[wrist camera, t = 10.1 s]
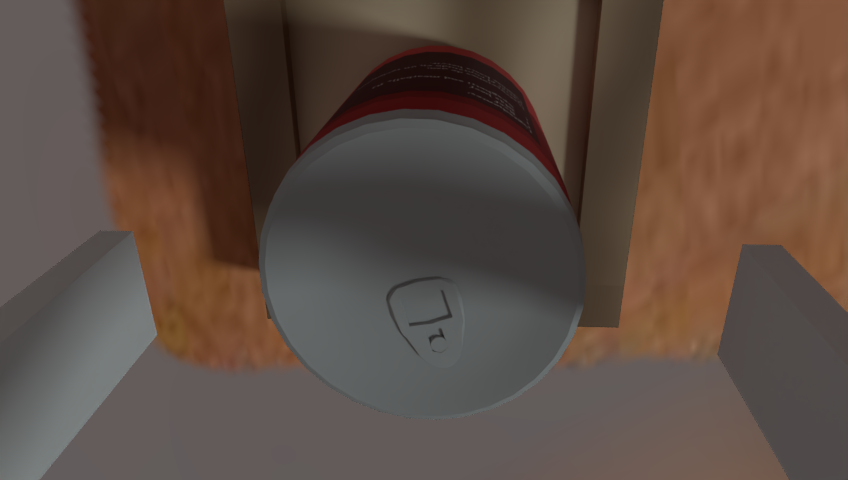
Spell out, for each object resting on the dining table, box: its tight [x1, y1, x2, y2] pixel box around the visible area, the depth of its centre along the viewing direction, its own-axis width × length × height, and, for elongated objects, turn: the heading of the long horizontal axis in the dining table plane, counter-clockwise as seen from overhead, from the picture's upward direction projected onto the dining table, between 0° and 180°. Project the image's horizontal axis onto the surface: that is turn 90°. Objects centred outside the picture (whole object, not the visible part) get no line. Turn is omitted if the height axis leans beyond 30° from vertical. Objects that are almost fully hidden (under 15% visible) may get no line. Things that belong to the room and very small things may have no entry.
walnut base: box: [223, 0, 664, 328], centre depth 25 cm, size 15×15×4 cm
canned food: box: [259, 46, 587, 419], centre depth 19 cm, size 8×8×11 cm
